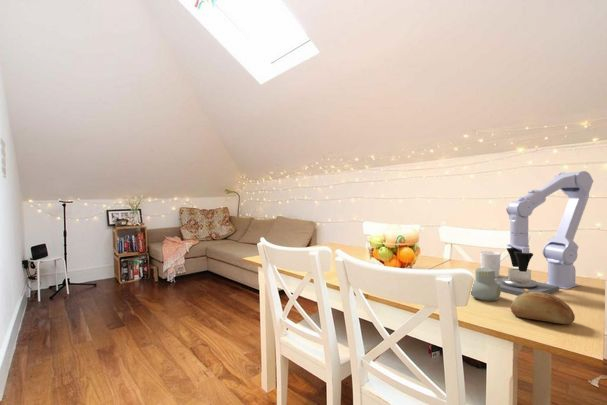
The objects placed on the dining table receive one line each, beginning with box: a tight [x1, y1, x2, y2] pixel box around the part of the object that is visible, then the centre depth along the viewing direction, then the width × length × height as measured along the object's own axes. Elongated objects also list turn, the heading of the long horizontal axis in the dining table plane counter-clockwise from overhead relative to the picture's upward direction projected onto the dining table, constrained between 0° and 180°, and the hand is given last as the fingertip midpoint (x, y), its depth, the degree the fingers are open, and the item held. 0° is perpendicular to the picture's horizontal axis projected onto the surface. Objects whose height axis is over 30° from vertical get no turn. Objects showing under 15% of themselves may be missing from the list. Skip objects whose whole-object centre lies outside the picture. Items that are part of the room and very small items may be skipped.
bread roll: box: [510, 292, 576, 325], centre depth 95 cm, size 10×15×8 cm, turn 53°
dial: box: [502, 267, 538, 288], centre depth 125 cm, size 11×11×6 cm
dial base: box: [495, 275, 560, 296], centre depth 125 cm, size 18×18×2 cm
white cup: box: [479, 250, 502, 278], centre depth 144 cm, size 8×8×10 cm
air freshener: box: [470, 267, 502, 302], centre depth 115 cm, size 11×8×10 cm
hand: (519, 269), depth 125 cm, fingers open, 7 cm apart
